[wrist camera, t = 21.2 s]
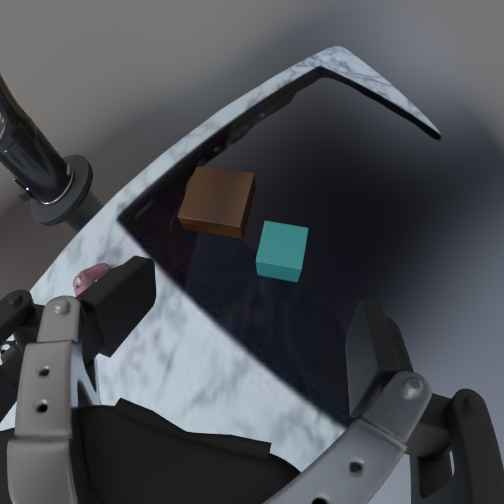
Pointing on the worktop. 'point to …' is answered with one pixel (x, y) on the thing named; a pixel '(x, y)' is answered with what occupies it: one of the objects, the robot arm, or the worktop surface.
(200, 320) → the worktop surface
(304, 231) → the square toy
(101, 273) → the video game controller
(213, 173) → the brown block
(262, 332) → the worktop surface
